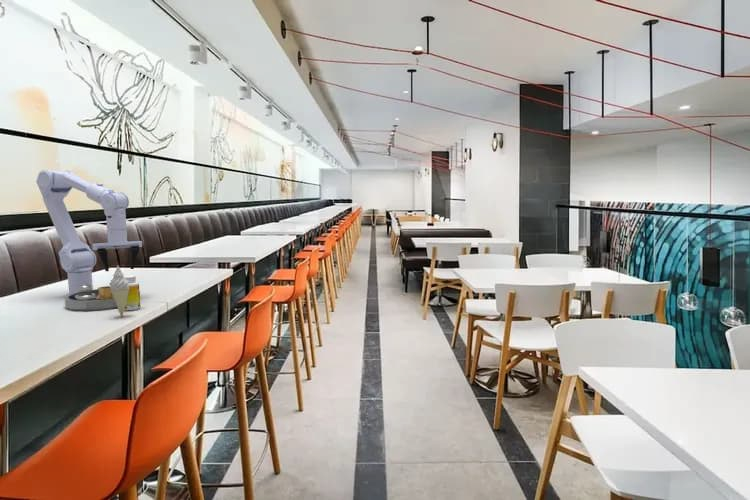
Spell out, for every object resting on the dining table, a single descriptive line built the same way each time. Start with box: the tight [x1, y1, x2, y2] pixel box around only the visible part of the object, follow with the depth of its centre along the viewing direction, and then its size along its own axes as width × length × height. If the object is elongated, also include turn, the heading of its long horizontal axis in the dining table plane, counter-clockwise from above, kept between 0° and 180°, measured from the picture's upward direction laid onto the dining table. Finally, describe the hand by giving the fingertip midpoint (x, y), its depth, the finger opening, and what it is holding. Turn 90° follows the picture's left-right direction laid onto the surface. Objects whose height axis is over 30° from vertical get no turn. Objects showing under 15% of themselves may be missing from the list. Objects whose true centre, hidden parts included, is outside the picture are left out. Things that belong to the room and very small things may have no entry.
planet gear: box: [95, 285, 114, 300], centre depth 155 cm, size 6×6×6 cm
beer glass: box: [124, 274, 141, 312], centre depth 151 cm, size 6×6×10 cm
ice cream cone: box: [108, 264, 129, 317], centre depth 142 cm, size 5×5×15 cm
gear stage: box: [64, 284, 141, 312], centre depth 159 cm, size 21×21×6 cm
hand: (119, 269), depth 166 cm, fingers open, 7 cm apart
